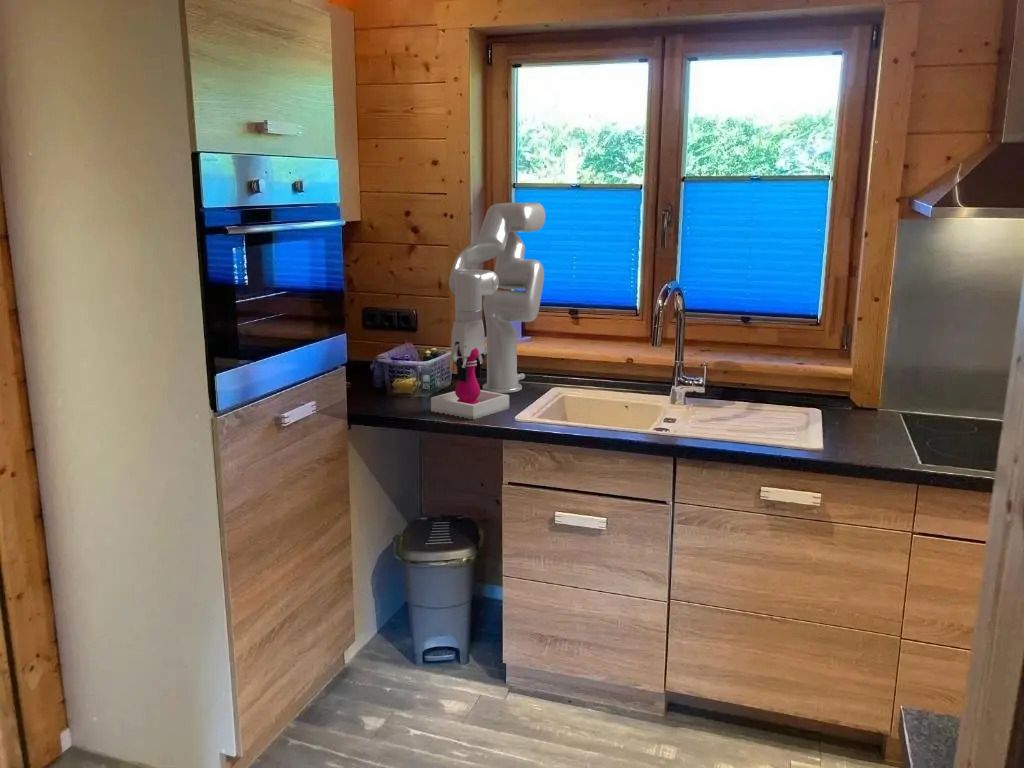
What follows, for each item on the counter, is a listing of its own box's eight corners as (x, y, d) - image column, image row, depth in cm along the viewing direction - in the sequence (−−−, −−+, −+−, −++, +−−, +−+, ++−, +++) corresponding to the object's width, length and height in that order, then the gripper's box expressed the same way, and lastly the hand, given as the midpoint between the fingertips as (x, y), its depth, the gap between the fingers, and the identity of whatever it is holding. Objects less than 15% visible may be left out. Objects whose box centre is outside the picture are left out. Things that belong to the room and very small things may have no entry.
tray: (467, 400, 252) (467, 387, 251) (509, 408, 243) (509, 395, 242) (431, 411, 240) (430, 397, 239) (473, 420, 230) (473, 405, 229)
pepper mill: (479, 409, 237) (480, 339, 233) (454, 409, 237) (454, 339, 233) (480, 404, 244) (481, 336, 240) (456, 403, 244) (456, 335, 240)
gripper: (478, 312, 244) (478, 373, 248) (438, 318, 231) (439, 382, 234) (498, 314, 239) (498, 376, 243) (458, 320, 226) (459, 385, 230)
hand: (469, 378), depth 239 cm, fingers open, 5 cm apart
